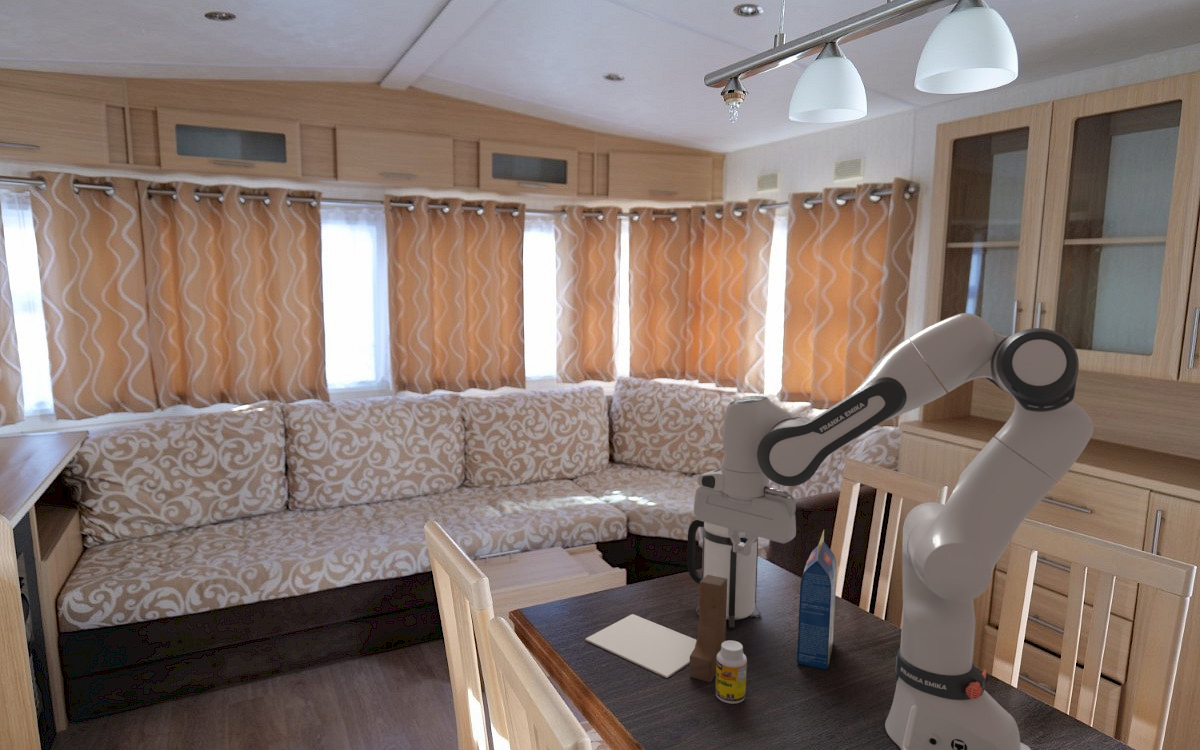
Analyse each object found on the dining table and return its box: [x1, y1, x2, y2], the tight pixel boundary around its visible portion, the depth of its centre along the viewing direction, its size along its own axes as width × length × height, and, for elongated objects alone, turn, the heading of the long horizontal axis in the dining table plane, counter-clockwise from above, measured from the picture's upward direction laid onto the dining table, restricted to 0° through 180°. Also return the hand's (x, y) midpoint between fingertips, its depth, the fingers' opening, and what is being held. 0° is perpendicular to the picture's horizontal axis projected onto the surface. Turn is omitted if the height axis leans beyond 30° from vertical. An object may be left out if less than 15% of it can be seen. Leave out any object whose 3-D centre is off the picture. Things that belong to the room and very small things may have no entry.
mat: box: [584, 613, 697, 679], centre depth 153 cm, size 22×16×1 cm
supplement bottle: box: [715, 639, 748, 705], centre depth 133 cm, size 6×6×10 cm
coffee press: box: [686, 519, 762, 631], centre depth 166 cm, size 17×16×30 cm
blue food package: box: [796, 529, 838, 670], centre depth 148 cm, size 6×12×25 cm, turn 157°
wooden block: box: [688, 575, 727, 683], centre depth 142 cm, size 9×4×18 cm, turn 152°
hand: (741, 553), depth 135 cm, fingers closed
